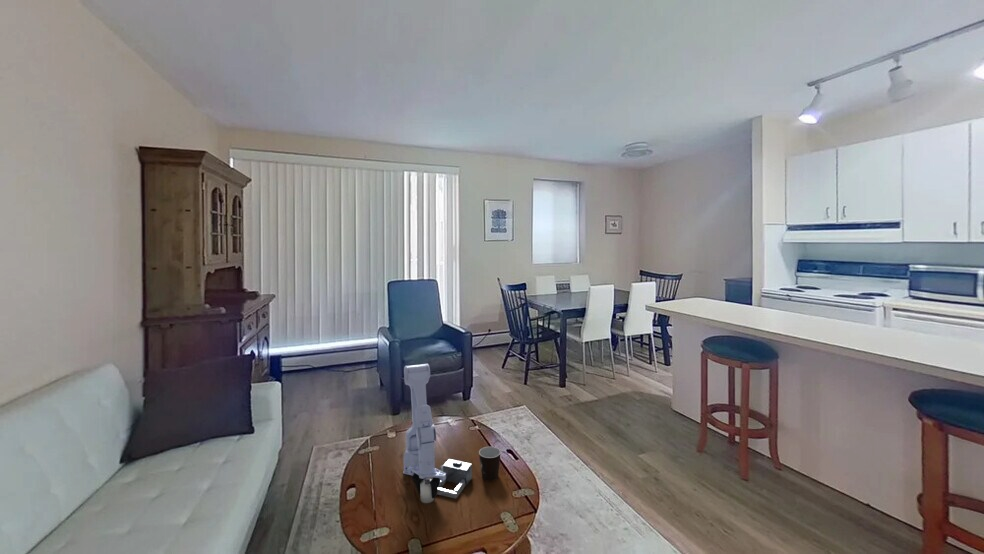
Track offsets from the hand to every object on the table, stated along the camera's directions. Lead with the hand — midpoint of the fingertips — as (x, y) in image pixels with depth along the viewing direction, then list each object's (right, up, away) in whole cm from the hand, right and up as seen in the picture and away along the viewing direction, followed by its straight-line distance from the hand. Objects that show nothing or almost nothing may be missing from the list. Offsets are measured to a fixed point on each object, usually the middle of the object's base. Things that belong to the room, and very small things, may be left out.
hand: (427, 494), depth 141 cm
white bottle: (0, -1, 0) cm, 1 cm away
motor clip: (+7, -1, +8) cm, 11 cm away
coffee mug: (+23, 0, +15) cm, 27 cm away
